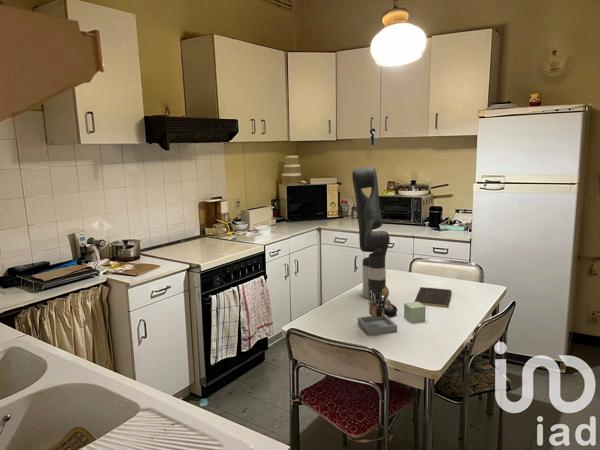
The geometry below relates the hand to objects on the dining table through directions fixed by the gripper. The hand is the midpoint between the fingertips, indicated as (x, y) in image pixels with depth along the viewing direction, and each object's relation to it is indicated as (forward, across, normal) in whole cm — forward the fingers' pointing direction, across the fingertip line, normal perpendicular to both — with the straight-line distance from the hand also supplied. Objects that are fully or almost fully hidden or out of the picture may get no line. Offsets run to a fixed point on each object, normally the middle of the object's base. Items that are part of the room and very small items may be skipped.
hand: (376, 313), depth 200 cm
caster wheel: (+7, -15, +11) cm, 20 cm away
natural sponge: (+6, -28, +13) cm, 32 cm away
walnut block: (0, 0, 0) cm, 0 cm away
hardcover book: (+7, -26, +42) cm, 50 cm away
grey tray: (+6, 0, 0) cm, 6 cm away
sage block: (+6, -4, +20) cm, 22 cm away
